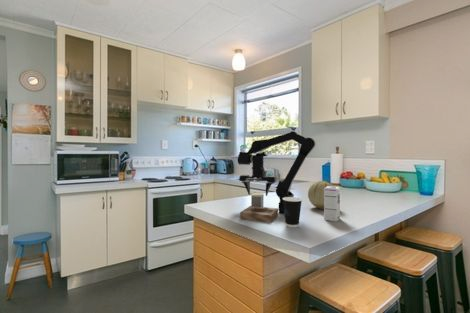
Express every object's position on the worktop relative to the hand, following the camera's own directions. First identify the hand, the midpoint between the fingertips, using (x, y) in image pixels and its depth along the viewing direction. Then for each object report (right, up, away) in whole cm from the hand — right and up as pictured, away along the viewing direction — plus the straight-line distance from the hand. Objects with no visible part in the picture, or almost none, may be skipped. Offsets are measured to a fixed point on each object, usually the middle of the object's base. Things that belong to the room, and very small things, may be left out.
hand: (257, 195), depth 130 cm
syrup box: (+32, -8, -17) cm, 37 cm away
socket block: (0, -8, -14) cm, 16 cm away
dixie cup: (+12, -8, -27) cm, 31 cm away
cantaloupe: (+35, -8, +5) cm, 36 cm away
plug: (0, -8, 0) cm, 8 cm away
